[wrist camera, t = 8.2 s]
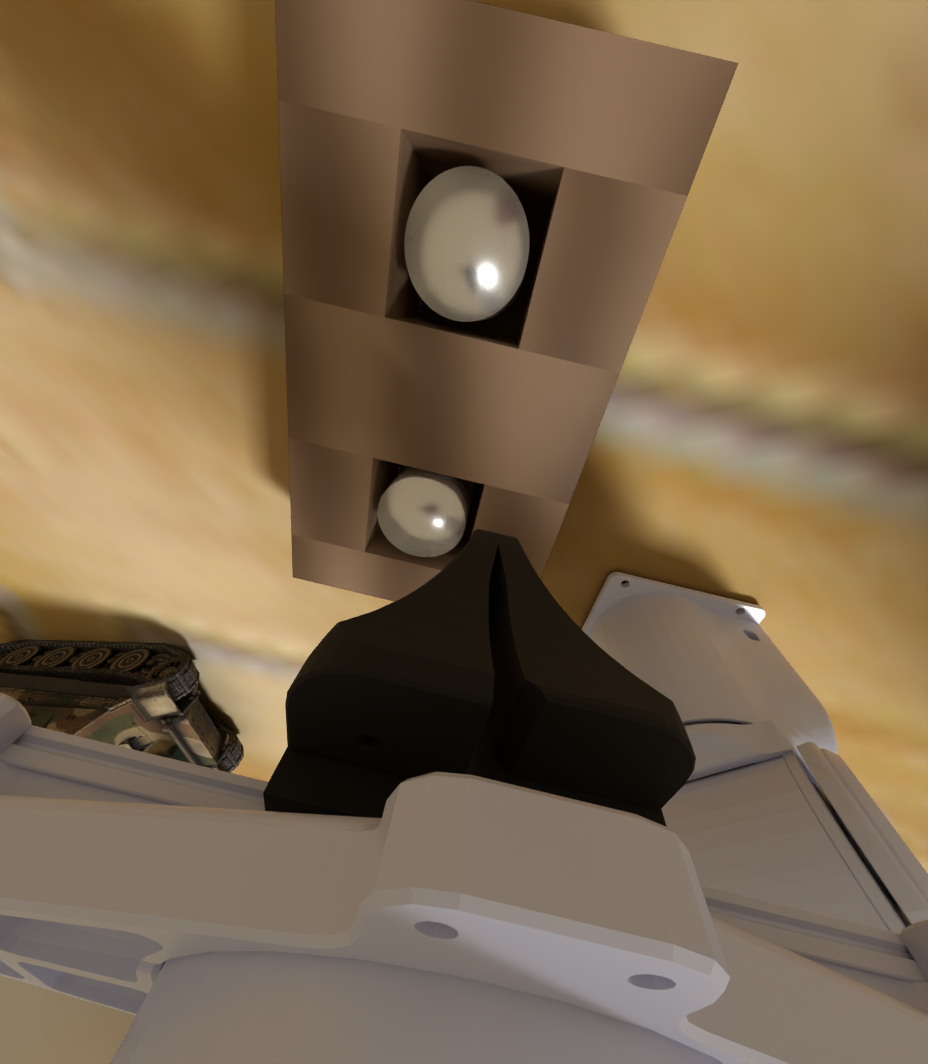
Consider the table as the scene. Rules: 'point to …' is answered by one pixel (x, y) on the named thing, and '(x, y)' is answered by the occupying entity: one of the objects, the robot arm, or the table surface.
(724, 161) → the table surface
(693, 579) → the table surface
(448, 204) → the peg
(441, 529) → the peg
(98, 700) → the model tank
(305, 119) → the walnut block
